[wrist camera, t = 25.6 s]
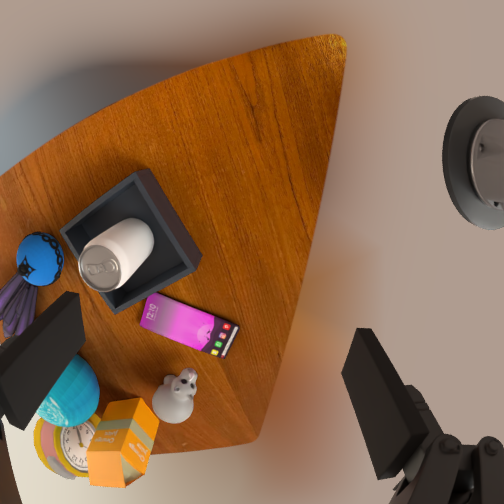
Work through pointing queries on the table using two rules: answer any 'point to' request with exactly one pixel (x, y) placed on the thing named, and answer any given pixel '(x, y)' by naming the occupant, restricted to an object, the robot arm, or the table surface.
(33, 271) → the ornament
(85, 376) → the decorative orb
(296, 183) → the table surface
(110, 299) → the tray
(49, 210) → the table surface
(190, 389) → the chubby cartoon animal
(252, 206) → the table surface
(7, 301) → the crystal
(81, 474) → the alarm clock
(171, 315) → the smartphone
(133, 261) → the can
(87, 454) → the orange juice
